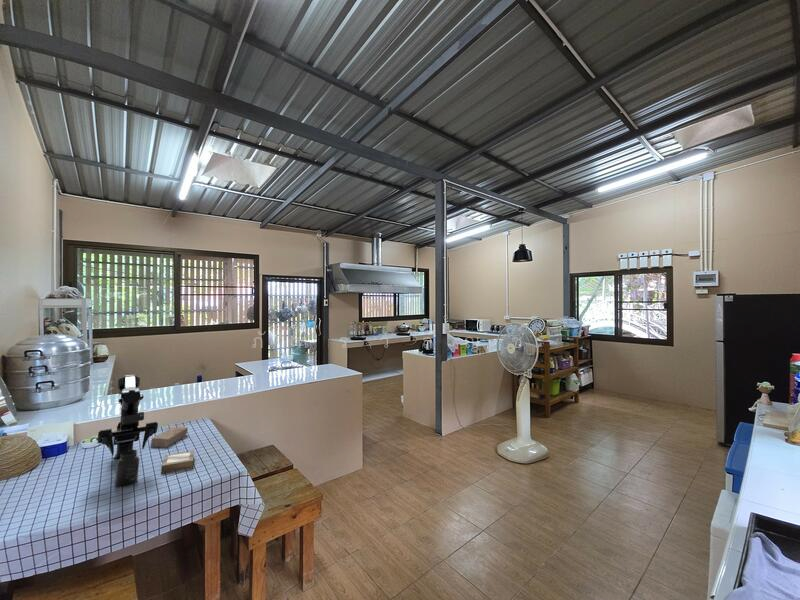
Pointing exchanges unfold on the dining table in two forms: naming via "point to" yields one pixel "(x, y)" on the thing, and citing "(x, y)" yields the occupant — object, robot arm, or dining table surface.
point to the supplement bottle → (127, 469)
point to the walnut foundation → (177, 461)
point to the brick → (169, 437)
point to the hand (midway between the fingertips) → (128, 451)
